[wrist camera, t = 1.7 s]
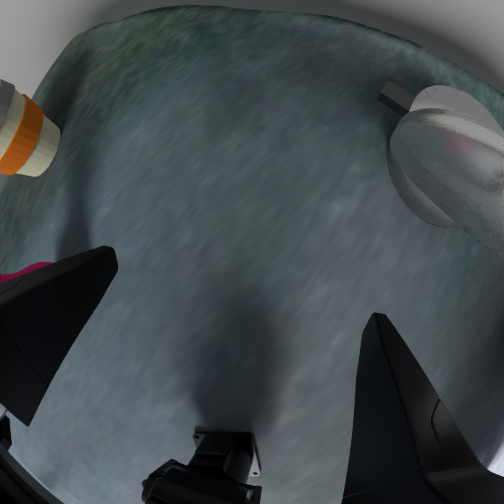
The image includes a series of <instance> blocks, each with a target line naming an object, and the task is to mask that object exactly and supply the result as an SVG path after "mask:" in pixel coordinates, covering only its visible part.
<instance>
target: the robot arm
mask: <svg viewBox="0 0 504 504" xmlns="http://www.w3.org/2000/svg"><path fill="white" fill-rule="evenodd" d="M117 271H118V263H117V258H116V253H115V250H114V248H112V247H109V246H105V245H104V246H101V247H98V248H95V249H92V250H89V251H86V252H83V253H80V254H77V255H74V256H71V257H68V258H65V259H63V260H60V261H57V262H54V263H52V264H49V265H46V266H43V267H41V268H38V269H35V270H33V271H30V272H27V273H25V274H22V275H20V276H17V277H14V278H12V279H9V280H6V281H4V282H1V283H0V504H64V503H62V502H61V501H60V500H59V499H57V498H56V497H55V496H53V495H52V494H51V493H50V492H49V491H48V490H47V489H45V488H44V487H43V486H42V485H41V484H40V483H39V482H38V481H36V480H35V479H34V478H33V477H32V476H31V475H30V474H29V473H28V472H27V471H26V470H25V469H24V468H23V467H22V466H21V465H20V464H19V463H18V462H17V461H16V460H15V459H14V457H13V456H11V454H10V453H9V452H8V450H9V448H10V446H11V445H12V441H11V431H10V419H9V418H8V417H7V416H6V414H5V413H6V412H7V410H8V411H9V412H10V413H12V414H13V415H14V416H15V417H16V418H17V419H19V420H20V421H21V422H22V423H24V424H25V425H26V426H27V427H28V426H29V425H30V423H31V421H32V419H33V417H34V415H35V413H36V411H37V409H38V407H39V405H40V403H41V401H42V399H43V397H44V395H45V393H46V391H47V389H48V387H49V385H50V383H51V381H52V379H53V377H54V376H55V374H56V372H57V370H58V369H59V367H60V365H61V363H62V362H63V360H64V358H65V356H66V355H67V353H68V351H69V350H70V348H71V346H72V345H73V343H74V342H75V340H76V338H77V337H78V335H79V334H80V332H81V330H82V329H83V327H84V326H85V324H86V323H87V321H88V320H89V318H90V316H91V315H92V313H93V312H94V310H95V309H96V308H97V306H98V304H99V303H100V301H101V299H102V298H103V296H104V294H105V292H106V290H107V289H108V287H109V285H110V283H111V282H112V280H113V278H114V277H115V275H116V273H117ZM196 435H198V436H199V437H197V436H196ZM246 436H249V437H250V438H247V437H246ZM193 439H194V442H195V445H196V450H195V454H194V456H193V457H192V459H191V460H190V462H189V463H188V465H184V464H181V463H179V462H177V461H176V460H174V459H170V460H169V461H168V462H166V463H165V464H163V465H162V466H161V467H159V468H158V469H157V470H155V471H154V472H153V473H151V474H150V475H149V476H148V479H145V480H143V482H142V486H143V492H142V501H143V502H145V504H260V498H261V490H262V487H261V486H257V485H256V486H252V485H248V484H246V482H247V479H248V476H259V475H260V467H259V462H258V458H257V453H256V448H255V443H254V438H253V435H252V434H251V433H249V432H210V431H209V432H195V433H194V434H193ZM255 472H257V473H255ZM341 504H504V477H503V476H500V475H497V474H495V473H493V472H491V471H489V470H487V469H486V468H485V467H484V466H483V465H482V464H481V463H480V461H479V460H478V458H477V457H476V455H475V453H474V452H473V450H472V449H471V447H470V446H469V444H468V443H467V441H466V440H465V438H464V437H463V435H462V434H461V432H460V430H459V429H458V427H457V426H456V424H455V423H454V421H453V419H452V418H451V416H450V414H449V413H448V411H447V409H446V408H445V406H444V404H443V402H442V401H441V399H439V396H438V394H437V392H436V391H435V389H434V387H433V386H432V384H431V382H430V381H429V379H428V377H427V376H426V374H425V373H424V371H423V369H422V368H421V366H420V365H419V363H418V361H417V360H416V358H415V357H414V355H413V354H412V352H411V351H410V349H409V348H408V346H407V345H406V343H405V342H404V340H403V339H402V337H401V336H400V334H399V333H398V331H397V330H396V328H395V327H394V325H393V324H392V323H391V321H390V320H389V318H388V317H387V316H386V315H385V314H382V313H377V312H374V313H373V314H372V315H371V317H370V319H369V321H368V323H367V325H366V326H365V328H364V330H363V333H362V338H361V347H360V355H359V362H358V369H357V376H356V388H355V405H354V418H353V429H352V439H351V448H350V456H349V463H348V470H347V476H346V482H345V488H344V493H343V498H342V503H341Z"/></svg>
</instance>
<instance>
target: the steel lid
mask: <svg viewBox="0 0 504 504" xmlns="http://www.w3.org/2000/svg"><path fill="white" fill-rule="evenodd" d="M390 147H391V151H392V153H393V155H394V157H395V159H396V161H397V162H398V164H399V165H400V167H401V168H402V170H403V171H404V172H405V173H406V175H407V176H408V177H409V178H410V179H411V180H412V182H413V183H414V184H415V185H416V186H417V187H418V188H419V189H420V190H421V191H422V192H423V193H424V194H425V195H426V196H427V197H428V198H429V199H430V200H431V201H432V202H433V203H434V204H435V205H436V206H437V207H439V208H440V209H441V210H442V211H443V212H444V213H445V214H446V215H447V216H449V217H450V218H451V219H452V220H453V221H454V222H456V223H457V224H458V225H459V226H460V227H461V228H463V229H464V230H465V231H466V232H467V233H469V234H470V235H471V236H472V237H474V238H475V239H476V240H477V241H479V242H480V243H481V244H483V245H484V246H485V247H486V248H488V249H489V250H490V251H492V252H493V253H495V254H496V255H497V256H499V257H500V258H502V259H503V260H504V131H503V130H501V129H499V128H497V127H495V126H493V125H491V124H489V123H487V122H485V121H483V120H481V119H478V118H476V117H473V116H470V115H467V114H465V113H461V112H456V111H452V110H448V109H438V108H426V109H418V110H414V111H411V112H409V113H408V114H406V115H404V117H403V118H402V119H401V120H400V122H399V123H398V125H397V127H396V128H395V130H394V132H393V134H392V136H391V138H390Z"/></svg>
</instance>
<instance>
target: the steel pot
mask: <svg viewBox="0 0 504 504" xmlns="http://www.w3.org/2000/svg"><path fill="white" fill-rule="evenodd" d="M377 100H378V101H380V102H381V103H383V104H385V105H386V106H388V107H389V108H391V109H392V110H394V111H395V112H397V113H398V114H400V115H401V116H403V117H404V115H406V114H408V113H409V112H411V111H414V110H418V109H426V108H438V109H448V110H452V111H456V112H461V113H465V114H467V115H470V116H473V117H476V118H478V119H481V120H483V121H485V122H487V123H489V124H491V125H493V126H495V127H497V128H499V129H501V127H500V126H499V124H498V123H497V121H496V120H495V119H494V117H493V116H492V115H491V114H490V112H489V111H488V110H487V109H486V108H485V107H484V106H483V105H482V104H481V103H479V102H478V101H477V100H476V99H474V98H473V97H471V96H470V95H468V94H467V93H465V92H463V91H461V90H458V89H456V88H453V87H449V86H444V85H436V86H431V87H428V88H426V89H424V90H422V91H421V92H420V93H419V94H418V95H417V97H414V96H413V95H411V94H410V93H408V92H407V91H405V90H404V89H402V88H401V87H399V86H397V85H396V84H394V83H393V82H391V81H389V80H388V81H387V82H386V84H385V85H384V87H383V88H382V90H381V91H380V93H379V96H378V98H377ZM501 130H502V129H501ZM388 168H389V172H390V176H391V179H392V182H393V184H394V186H395V188H396V190H397V192H398V194H399V195H400V197H401V198H402V200H403V201H404V203H405V204H406V205H407V206H408V207H409V208H410V209H411V210H412V211H413V212H414V213H415V214H416V215H417V216H419V217H420V218H421V219H423V220H425V221H426V222H428V223H430V224H433V225H436V226H440V227H454V226H457V225H458V224H457V223H456V222H454V221H453V220H452V219H451V218H450V217H449V216H447V215H446V214H445V213H444V212H443V211H442V210H441V209H440V208H439V207H437V206H436V205H435V204H434V203H433V202H432V201H431V200H430V199H429V198H428V197H427V196H426V195H425V194H424V193H423V192H422V191H421V190H420V189H419V188H418V187H417V186H416V185H415V184H414V183H413V182H412V180H411V179H410V178H409V177H408V176H407V175H406V173H405V172H404V171H403V170H402V168H401V167H400V165H399V164H398V162H397V161H396V159H395V157H394V155H393V153H392V151H391V147H390V143H389V146H388Z"/></svg>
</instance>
